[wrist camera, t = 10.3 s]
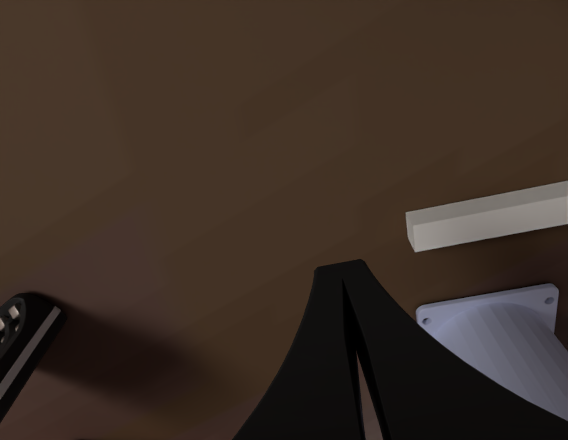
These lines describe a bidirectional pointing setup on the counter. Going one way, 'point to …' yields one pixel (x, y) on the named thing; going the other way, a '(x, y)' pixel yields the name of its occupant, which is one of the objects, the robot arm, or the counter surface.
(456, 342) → the robot arm
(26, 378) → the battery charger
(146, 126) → the counter surface
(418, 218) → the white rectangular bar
